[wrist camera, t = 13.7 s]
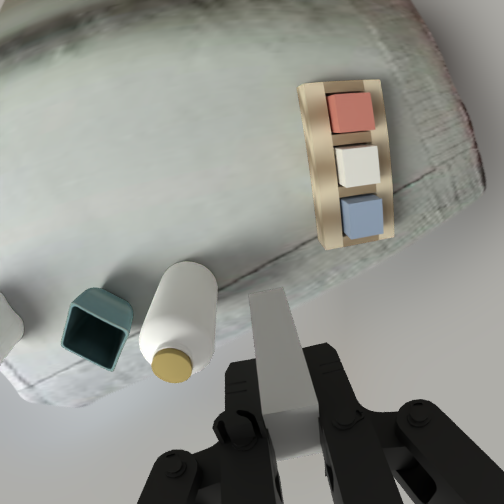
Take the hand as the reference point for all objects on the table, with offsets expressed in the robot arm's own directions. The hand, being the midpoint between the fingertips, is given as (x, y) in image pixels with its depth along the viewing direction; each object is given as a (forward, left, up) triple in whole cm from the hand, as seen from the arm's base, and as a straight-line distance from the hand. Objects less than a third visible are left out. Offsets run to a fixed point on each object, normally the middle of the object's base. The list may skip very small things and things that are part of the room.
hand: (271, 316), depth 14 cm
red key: (-14, +8, -29) cm, 33 cm away
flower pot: (+24, -14, -30) cm, 41 cm away
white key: (-8, +11, -29) cm, 32 cm away
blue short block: (-3, +15, -29) cm, 32 cm away
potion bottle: (+16, -3, -30) cm, 34 cm away
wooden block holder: (-8, +11, -30) cm, 33 cm away
